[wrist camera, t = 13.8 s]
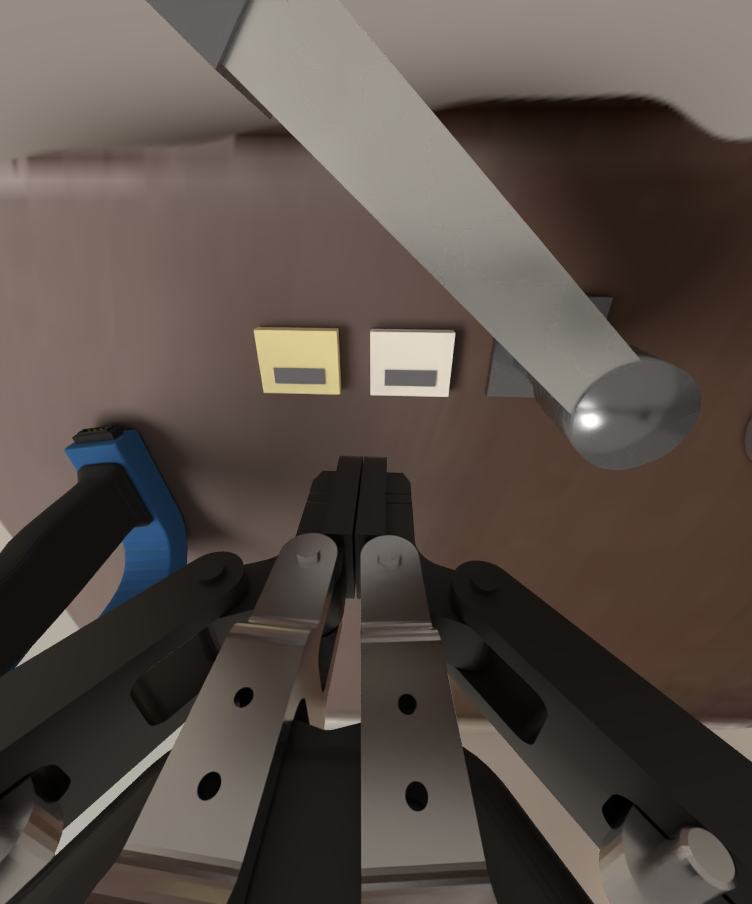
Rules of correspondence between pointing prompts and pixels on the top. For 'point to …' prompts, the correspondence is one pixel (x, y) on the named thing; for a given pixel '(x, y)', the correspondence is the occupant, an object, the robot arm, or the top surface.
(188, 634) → the robot arm
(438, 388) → the label plate
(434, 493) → the top surface
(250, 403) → the top surface
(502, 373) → the gray square plate
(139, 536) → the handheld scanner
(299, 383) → the label plate
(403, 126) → the bar
